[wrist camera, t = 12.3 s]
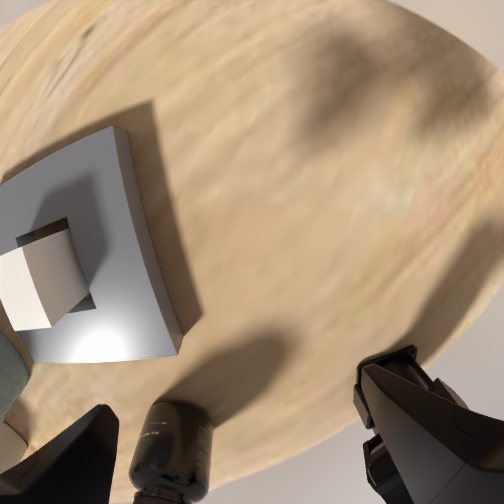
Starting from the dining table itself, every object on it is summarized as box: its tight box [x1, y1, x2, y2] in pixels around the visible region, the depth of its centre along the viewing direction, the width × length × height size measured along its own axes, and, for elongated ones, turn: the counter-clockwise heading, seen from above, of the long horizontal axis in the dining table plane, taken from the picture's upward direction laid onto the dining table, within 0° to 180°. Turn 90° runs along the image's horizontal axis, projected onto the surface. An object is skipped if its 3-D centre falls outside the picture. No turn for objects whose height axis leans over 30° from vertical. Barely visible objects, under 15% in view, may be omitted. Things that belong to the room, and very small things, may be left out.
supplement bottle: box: [129, 401, 213, 504], centre depth 17 cm, size 7×7×12 cm
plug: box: [0, 228, 90, 331], centre depth 15 cm, size 4×5×7 cm
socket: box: [0, 125, 183, 363], centre depth 17 cm, size 16×16×2 cm
